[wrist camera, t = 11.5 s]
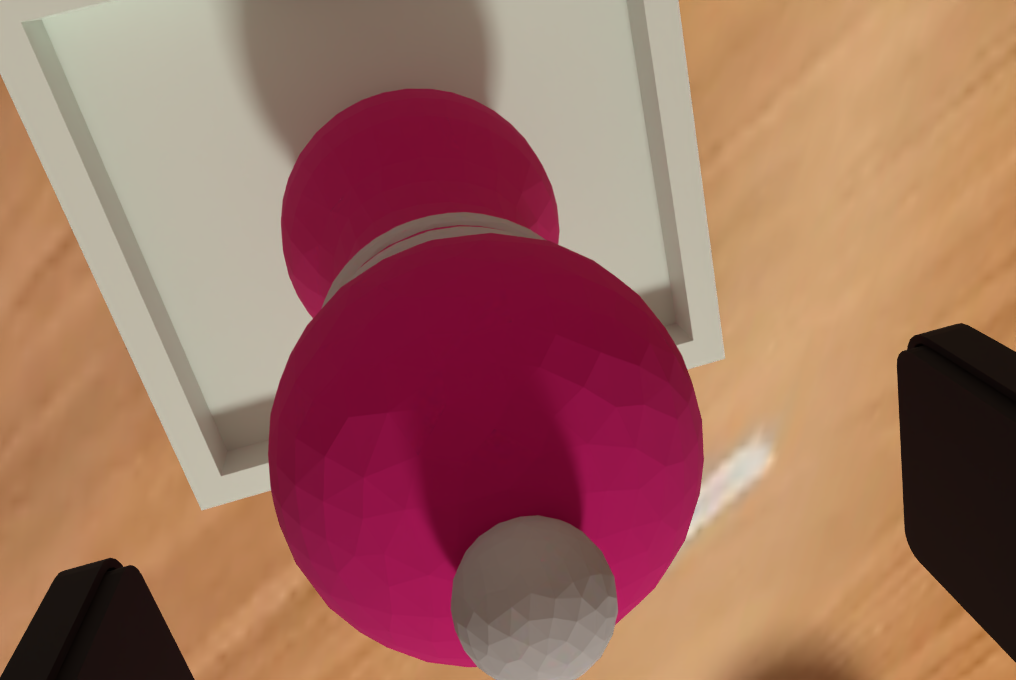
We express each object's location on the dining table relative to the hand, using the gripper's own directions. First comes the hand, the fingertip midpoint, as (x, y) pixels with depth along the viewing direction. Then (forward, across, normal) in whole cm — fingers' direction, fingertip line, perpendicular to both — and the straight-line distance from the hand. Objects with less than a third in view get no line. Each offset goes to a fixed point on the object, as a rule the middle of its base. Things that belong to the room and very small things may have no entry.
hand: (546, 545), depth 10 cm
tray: (+18, +1, -1) cm, 19 cm away
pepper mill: (+18, +1, -1) cm, 18 cm away
